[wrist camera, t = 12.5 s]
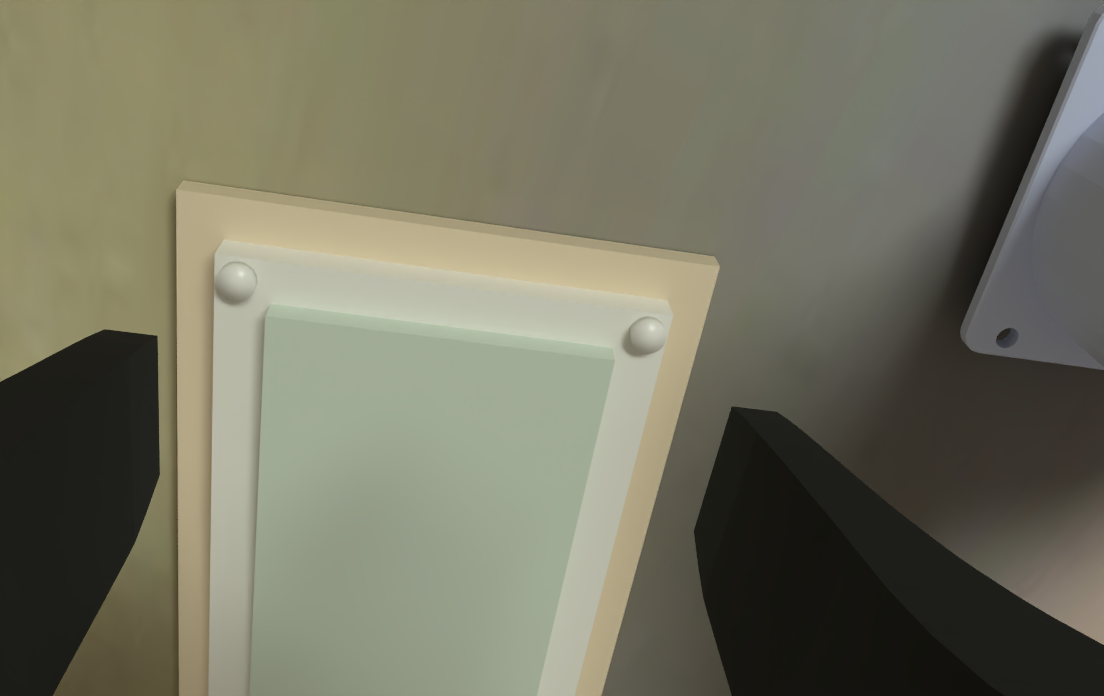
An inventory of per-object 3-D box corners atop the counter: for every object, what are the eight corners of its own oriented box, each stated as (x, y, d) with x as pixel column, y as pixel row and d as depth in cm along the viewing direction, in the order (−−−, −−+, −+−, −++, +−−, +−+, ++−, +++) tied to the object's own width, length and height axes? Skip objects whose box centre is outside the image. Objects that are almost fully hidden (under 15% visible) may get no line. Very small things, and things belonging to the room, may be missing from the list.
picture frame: (714, 256, 23) (733, 292, 21) (573, 772, 31) (578, 830, 29) (184, 180, 21) (156, 212, 19) (184, 746, 29) (165, 804, 28)
